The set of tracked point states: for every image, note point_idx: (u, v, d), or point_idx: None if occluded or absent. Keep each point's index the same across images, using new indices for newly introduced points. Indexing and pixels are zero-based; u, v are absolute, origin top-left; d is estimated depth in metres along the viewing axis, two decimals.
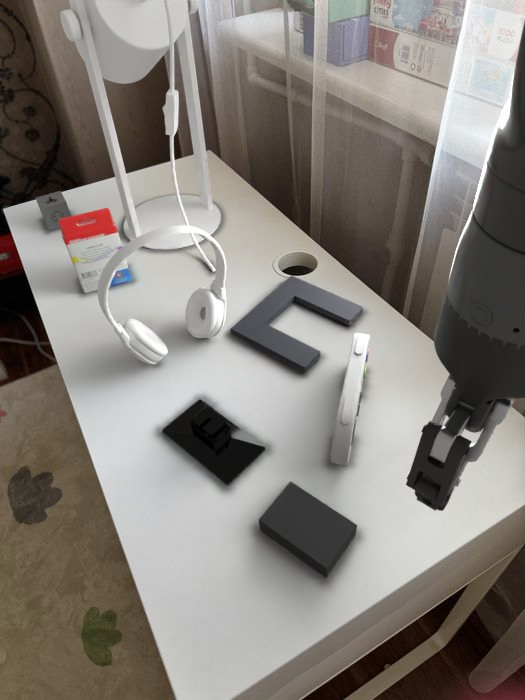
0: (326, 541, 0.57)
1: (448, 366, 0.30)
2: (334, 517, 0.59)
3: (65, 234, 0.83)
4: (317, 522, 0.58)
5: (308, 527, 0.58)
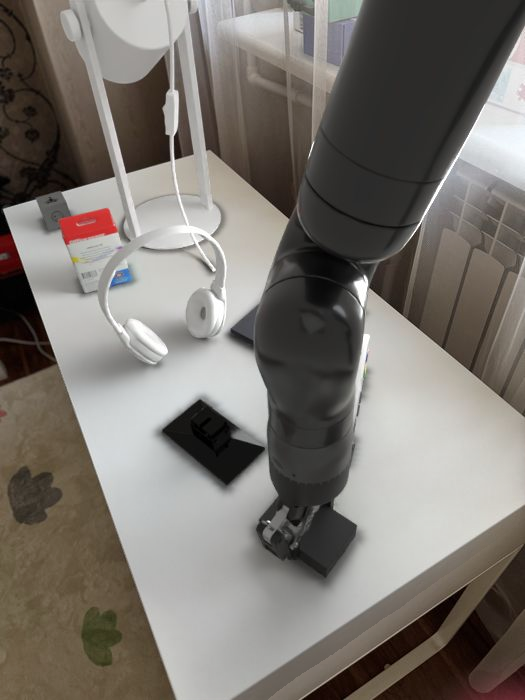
0: (326, 541, 0.57)
1: (273, 484, 0.50)
2: (334, 517, 0.59)
3: (65, 234, 0.83)
4: (317, 523, 0.58)
5: None
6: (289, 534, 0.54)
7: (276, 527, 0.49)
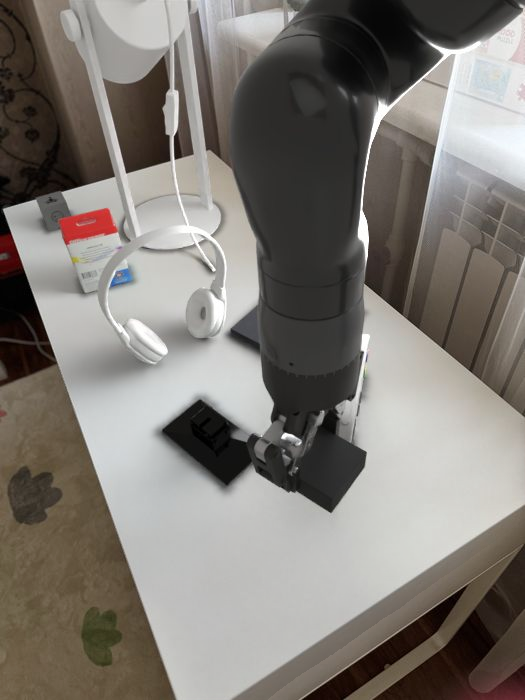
0: (331, 470, 0.48)
1: (266, 387, 0.41)
2: (340, 444, 0.50)
3: (65, 234, 0.83)
4: (320, 450, 0.50)
5: (310, 455, 0.49)
6: (287, 458, 0.46)
7: (271, 439, 0.41)
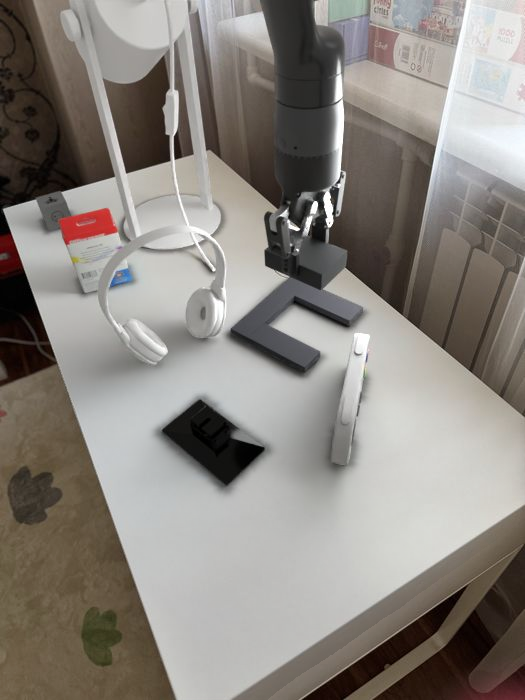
0: (321, 260, 0.68)
1: (278, 179, 0.60)
2: (328, 247, 0.70)
3: (65, 234, 0.83)
4: (314, 250, 0.69)
5: (306, 253, 0.69)
6: None
7: (280, 213, 0.60)
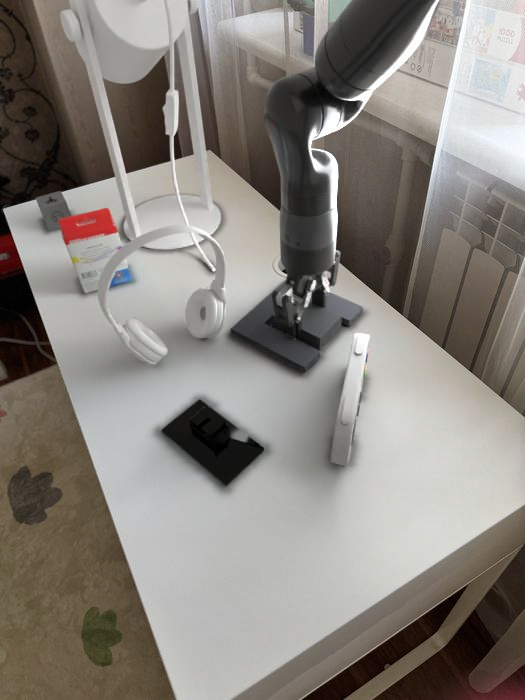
0: (320, 324, 0.80)
1: (283, 264, 0.73)
2: (325, 312, 0.82)
3: (65, 234, 0.83)
4: (313, 315, 0.82)
5: (307, 318, 0.81)
6: (294, 313, 0.78)
7: (285, 292, 0.73)
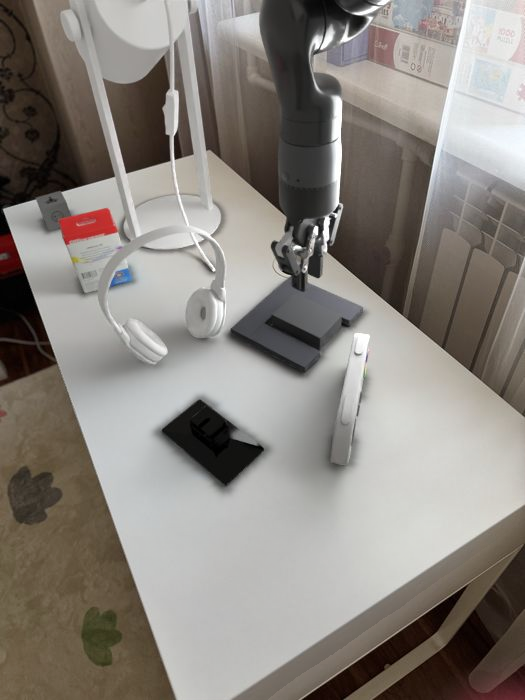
0: (320, 324, 0.80)
1: (282, 207, 0.67)
2: (325, 312, 0.82)
3: (65, 234, 0.83)
4: (313, 315, 0.82)
5: (307, 317, 0.81)
6: None
7: (285, 242, 0.67)
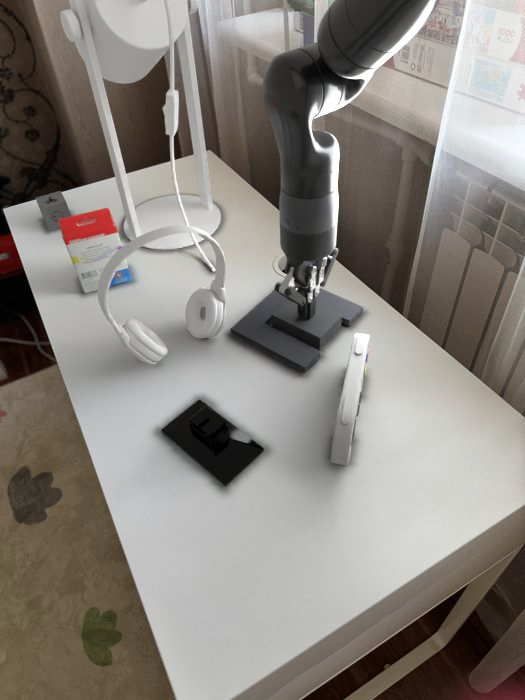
0: (320, 324, 0.80)
1: (283, 249, 0.71)
2: (325, 312, 0.82)
3: (66, 234, 0.84)
4: None
5: None
6: None
7: (286, 285, 0.72)
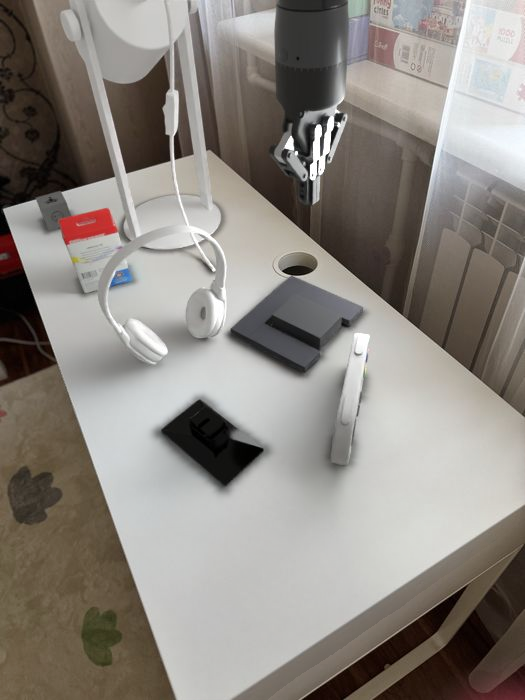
0: (320, 324, 0.80)
1: (279, 99, 0.57)
2: (325, 312, 0.82)
3: (66, 234, 0.84)
4: (313, 315, 0.82)
5: (307, 317, 0.81)
6: None
7: (284, 145, 0.58)
